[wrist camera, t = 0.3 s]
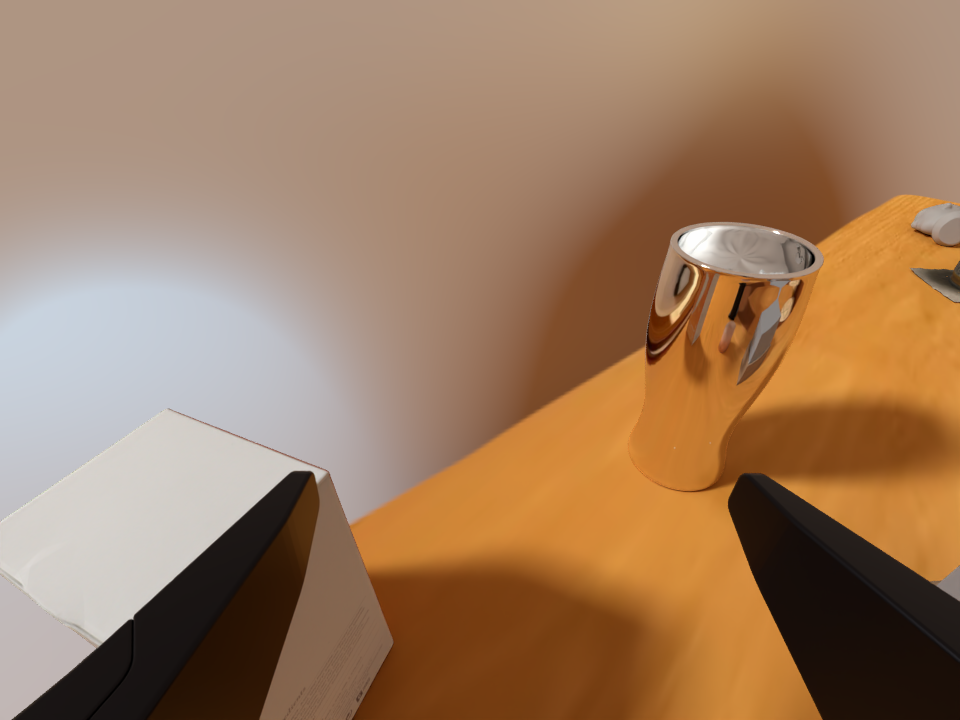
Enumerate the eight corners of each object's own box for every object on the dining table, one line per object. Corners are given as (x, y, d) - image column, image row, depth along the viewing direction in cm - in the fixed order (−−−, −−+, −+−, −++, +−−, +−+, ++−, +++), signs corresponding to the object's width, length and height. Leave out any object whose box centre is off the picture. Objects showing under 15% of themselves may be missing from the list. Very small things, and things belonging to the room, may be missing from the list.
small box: (397, 641, 22) (335, 468, 14) (307, 807, 17) (141, 689, 9) (274, 576, 25) (165, 402, 17) (169, 704, 20) (-47, 547, 12)
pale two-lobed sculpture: (907, 233, 61) (961, 228, 58) (910, 252, 56) (970, 248, 53) (911, 201, 60) (967, 194, 56) (915, 218, 54) (977, 212, 51)
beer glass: (603, 428, 33) (640, 229, 24) (689, 411, 34) (755, 214, 25) (653, 509, 27) (726, 288, 18) (754, 485, 28) (870, 266, 19)
